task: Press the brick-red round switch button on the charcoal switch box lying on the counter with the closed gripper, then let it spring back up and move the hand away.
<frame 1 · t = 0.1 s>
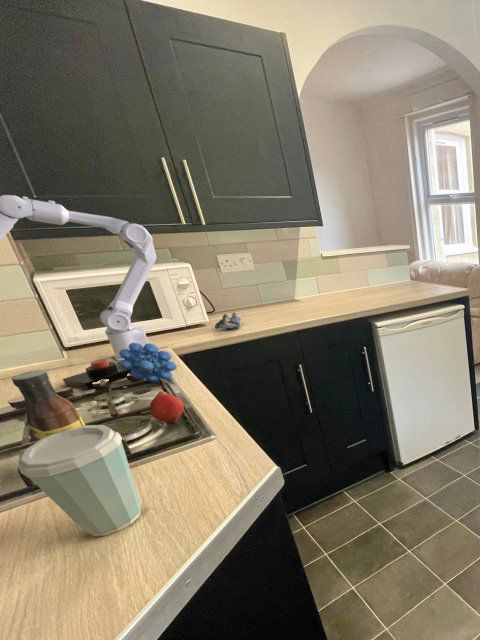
sauce bottle: (84, 471, 79), on the worktop
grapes: (155, 384, 118), on the worktop
button: (100, 364, 121), point 4 cm above the worktop, slide at 0.1 cm
switch box: (106, 378, 123), on the worktop
onion: (173, 423, 95), on the worktop
blue grey figurine: (233, 327, 170), on the worktop
disposable coffee cup: (113, 524, 65), on the worktop
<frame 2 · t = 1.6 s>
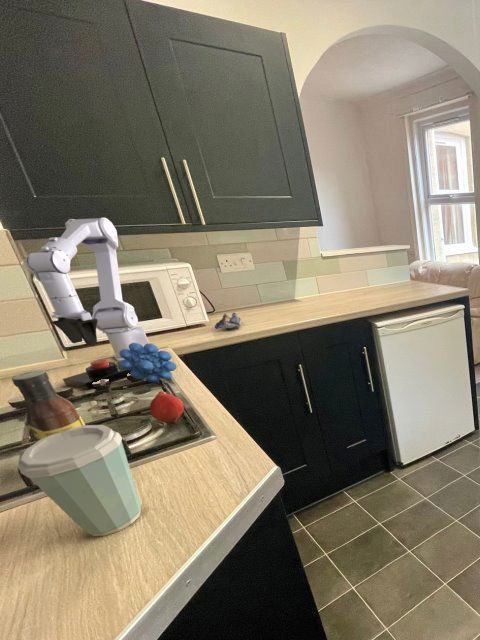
hand: (85, 343, 122), 10 cm above the worktop, tool pointing down, fingers open, 7 cm apart
nothing on the worktop moved.
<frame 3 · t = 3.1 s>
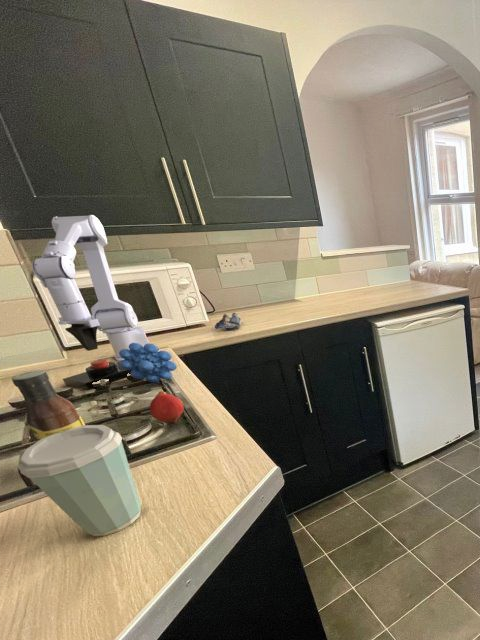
hand: (92, 349, 120), 9 cm above the worktop, tool pointing down, fingers closed
nothing on the worktop moved.
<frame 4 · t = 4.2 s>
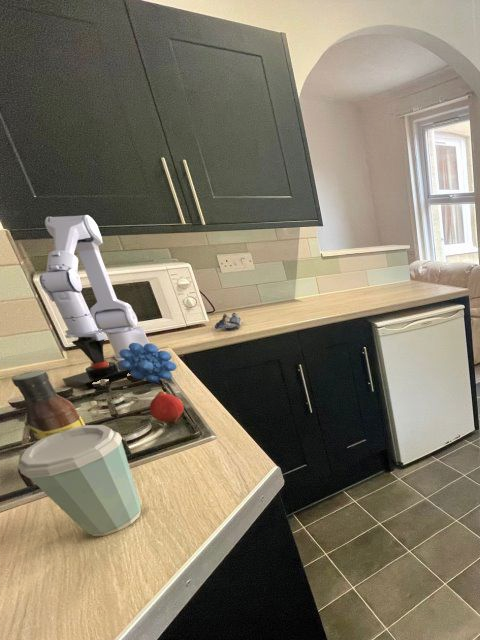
hand: (98, 362, 120), 5 cm above the worktop, tool pointing down, fingers closed, pressing on button
button: (100, 364, 121), point 4 cm above the worktop, slide at 0.0 cm, touching gripper
everything else where it was.
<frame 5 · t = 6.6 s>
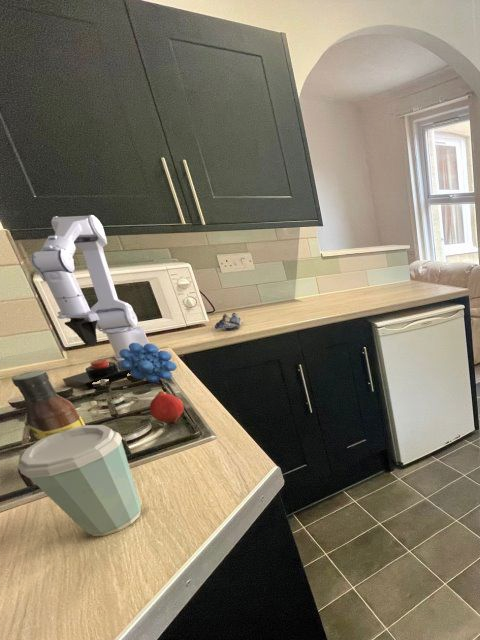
hand: (91, 344, 120), 10 cm above the worktop, tool pointing down, fingers closed
button: (100, 364, 121), point 4 cm above the worktop, slide at 0.1 cm
everything else where it was.
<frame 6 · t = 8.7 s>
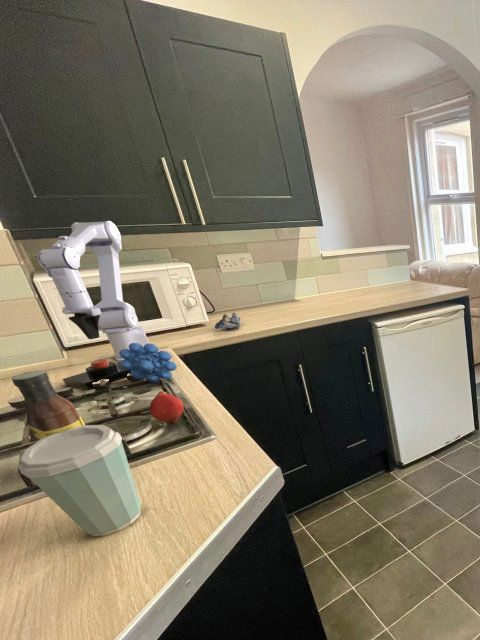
hand: (94, 338, 125), 10 cm above the worktop, tool pointing down, fingers closed
nothing on the worktop moved.
at the end: button pushed in 1.2 cm at the most during the clip, back to where it started at the end; button slide at 0.1 cm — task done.
